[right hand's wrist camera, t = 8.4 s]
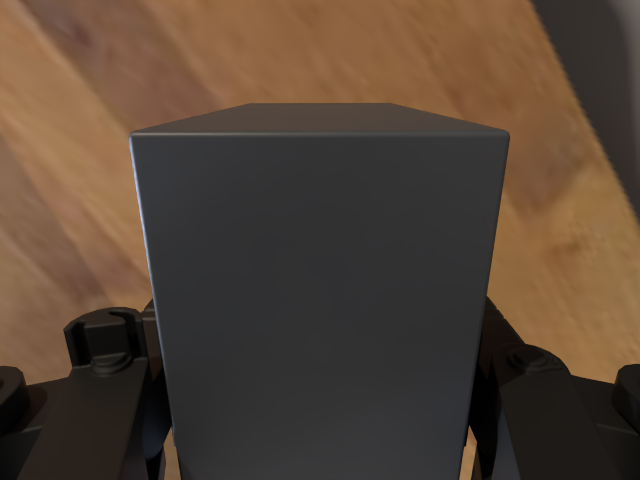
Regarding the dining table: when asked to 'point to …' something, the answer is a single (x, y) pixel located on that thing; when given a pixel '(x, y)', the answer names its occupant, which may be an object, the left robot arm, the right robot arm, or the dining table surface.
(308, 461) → the beam
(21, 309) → the dining table surface
